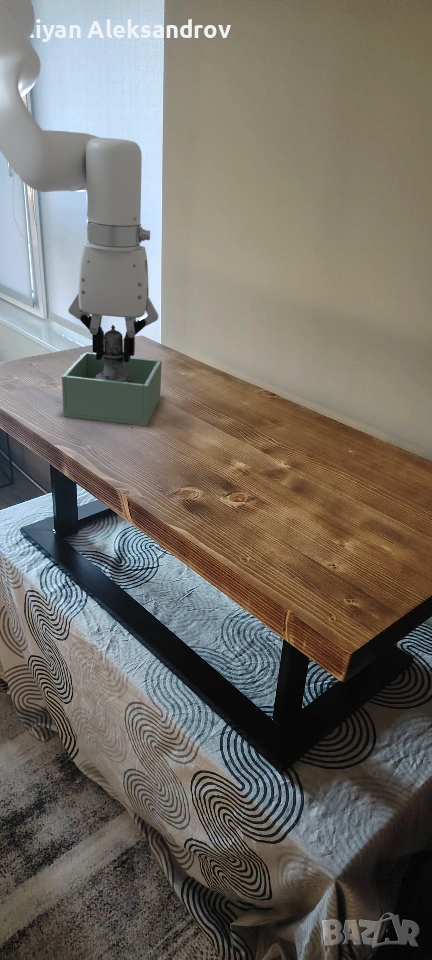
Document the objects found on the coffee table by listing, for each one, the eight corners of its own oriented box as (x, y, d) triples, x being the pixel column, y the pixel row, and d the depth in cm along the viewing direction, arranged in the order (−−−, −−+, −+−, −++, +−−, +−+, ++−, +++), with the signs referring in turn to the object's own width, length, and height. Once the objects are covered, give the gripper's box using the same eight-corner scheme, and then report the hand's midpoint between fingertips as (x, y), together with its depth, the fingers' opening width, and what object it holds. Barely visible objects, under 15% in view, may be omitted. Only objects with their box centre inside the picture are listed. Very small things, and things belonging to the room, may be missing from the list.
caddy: (63, 416, 98) (61, 376, 95) (85, 388, 109) (84, 351, 105) (146, 425, 97) (147, 386, 94) (160, 397, 108) (161, 360, 105)
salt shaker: (130, 405, 100) (130, 331, 94) (93, 403, 99) (90, 329, 94) (134, 391, 105) (134, 320, 99) (99, 389, 105) (96, 318, 99)
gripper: (173, 237, 93) (167, 355, 102) (61, 227, 93) (66, 346, 102) (169, 245, 87) (164, 370, 96) (49, 234, 86) (55, 361, 95)
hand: (113, 357), depth 99 cm, fingers closed on salt shaker, 3 cm apart
